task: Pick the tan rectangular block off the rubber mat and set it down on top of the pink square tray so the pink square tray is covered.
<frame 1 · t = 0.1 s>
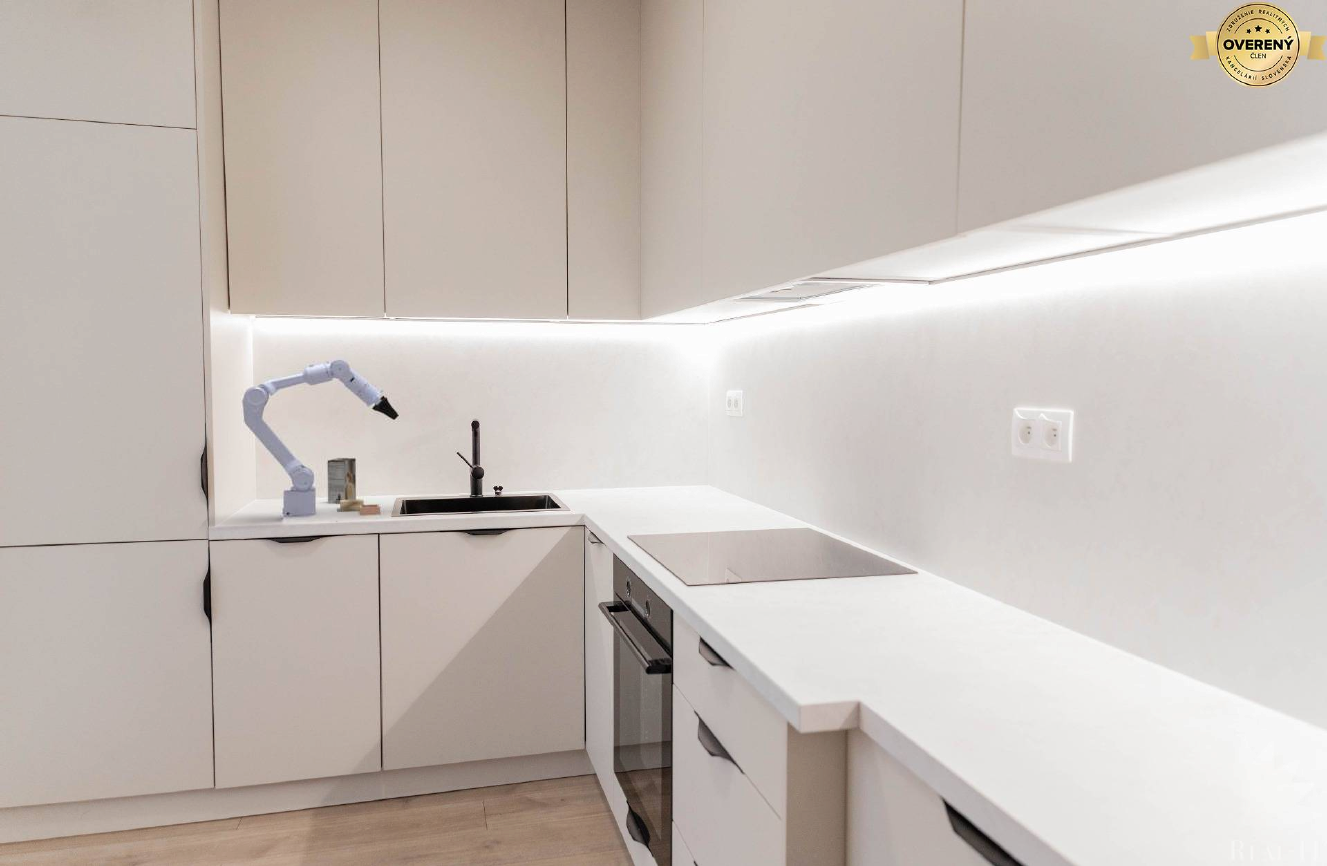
hand: (395, 417, 266), 32 cm above the countertop, tool tilted 50°, fingers open, 7 cm apart
mat: (351, 513, 267), on the countertop
pink square tray: (369, 516, 261), on the countertop
tan rectangular block: (351, 509, 267), point 1 cm above the countertop, touching mat
coffee box: (341, 505, 284), on the countertop
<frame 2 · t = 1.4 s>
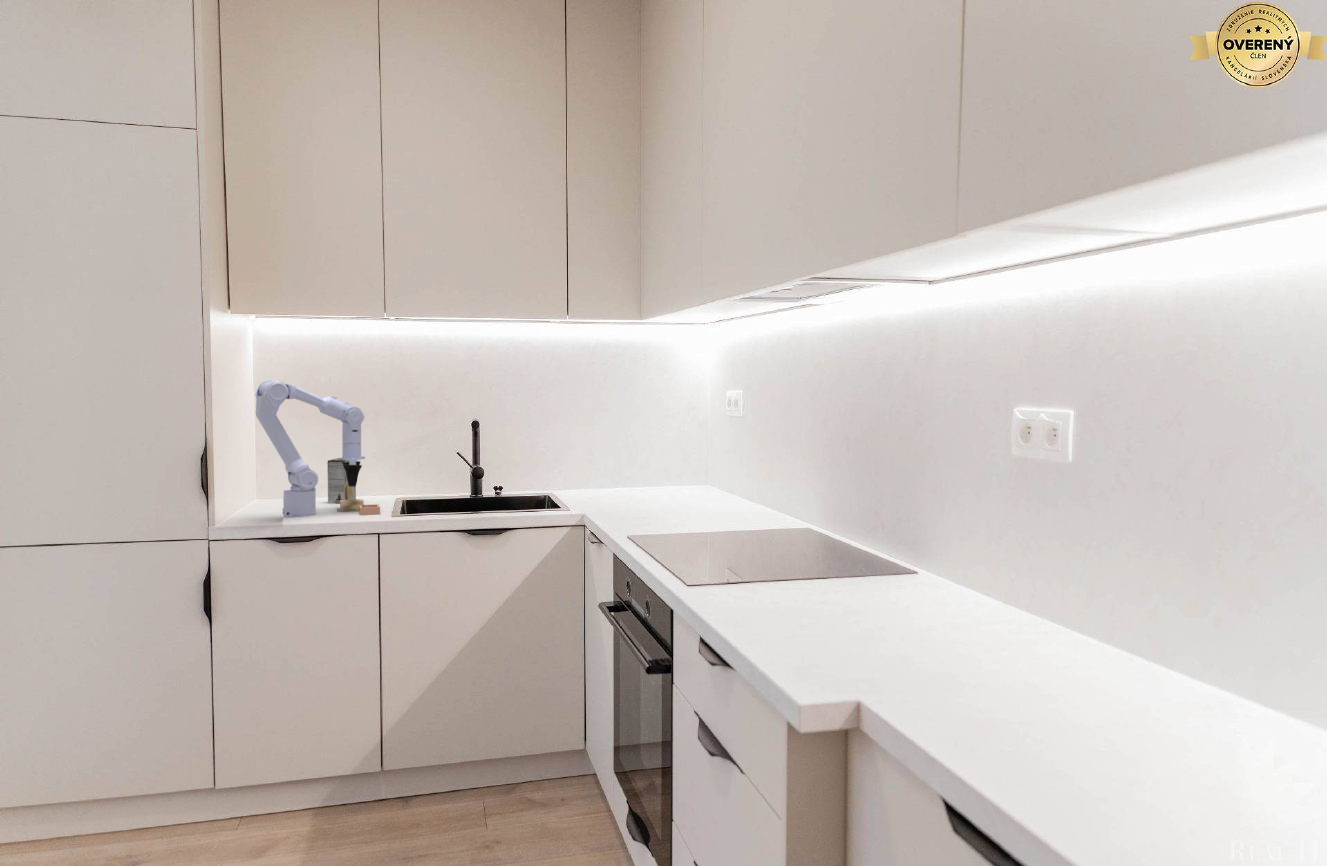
hand: (351, 484, 267), 9 cm above the countertop, tool pointing down, fingers open, 7 cm apart
nothing on the countertop moved.
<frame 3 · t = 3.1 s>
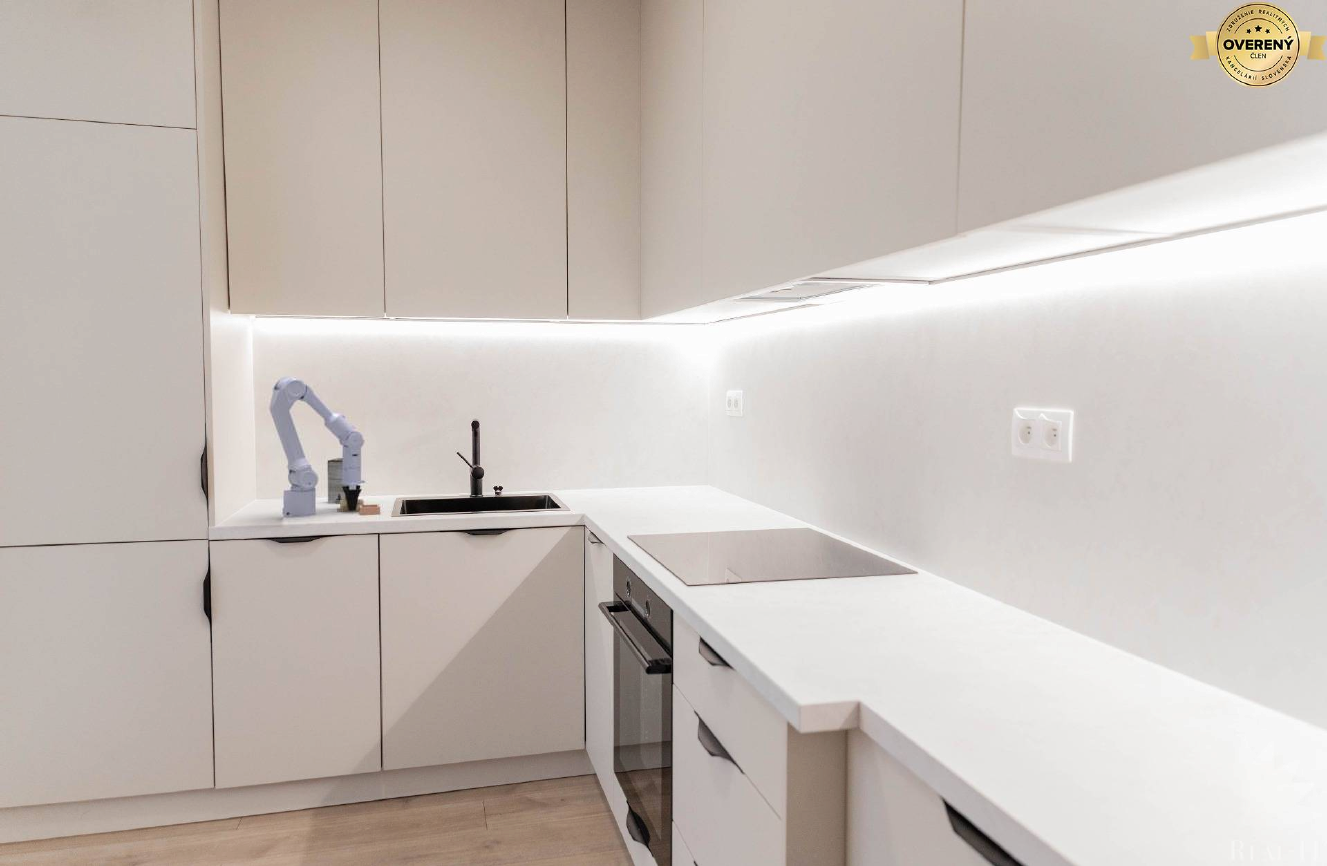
hand: (351, 508, 267), 2 cm above the countertop, tool pointing down, fingers closed on tan rectangular block, 5 cm apart
tan rectangular block: (351, 509, 267), point 1 cm above the countertop, touching gripper, mat
everything else where it was.
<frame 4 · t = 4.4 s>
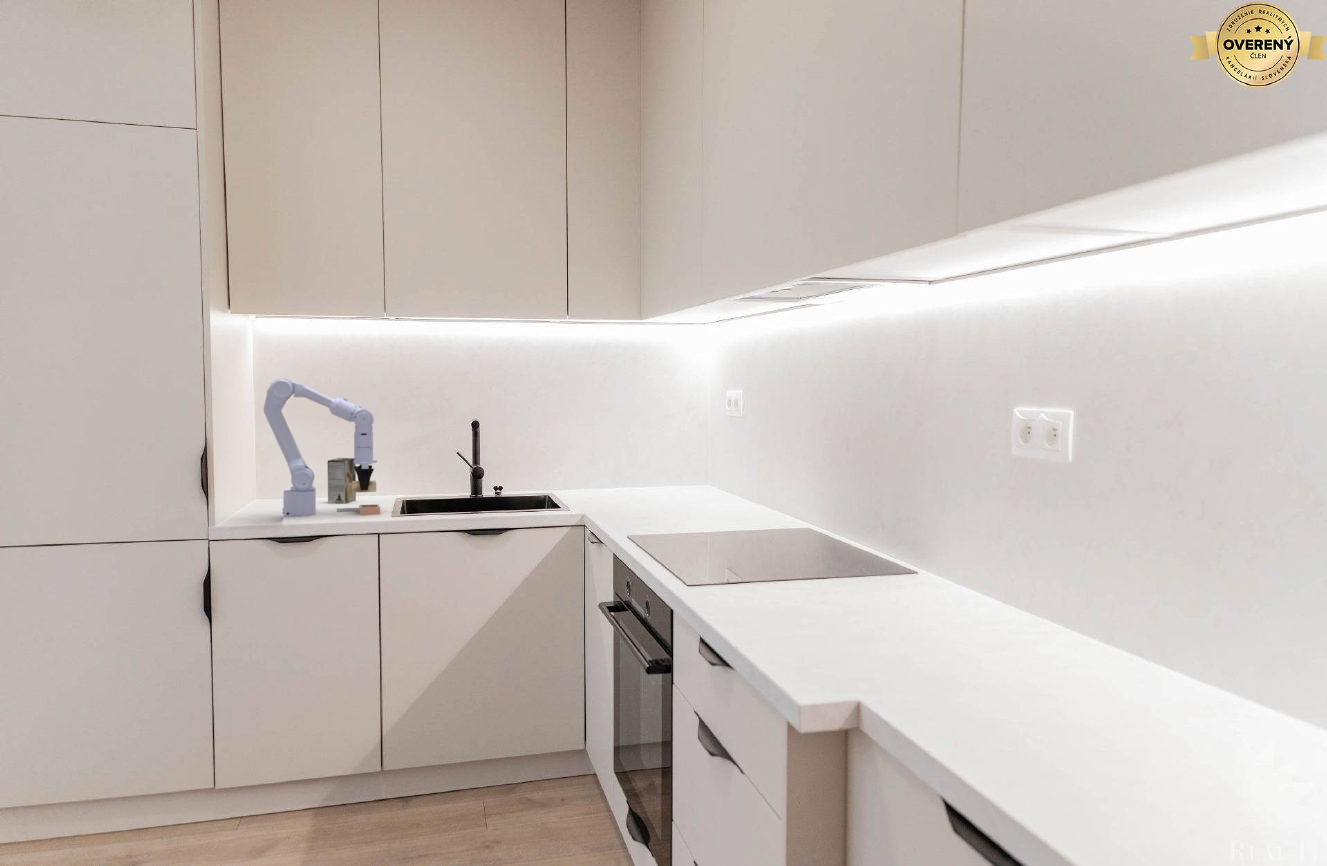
hand: (363, 488, 263), 9 cm above the countertop, tool pointing down, fingers closed on tan rectangular block, 5 cm apart
tan rectangular block: (364, 491, 263), point 8 cm above the countertop, touching gripper
everything else where it was.
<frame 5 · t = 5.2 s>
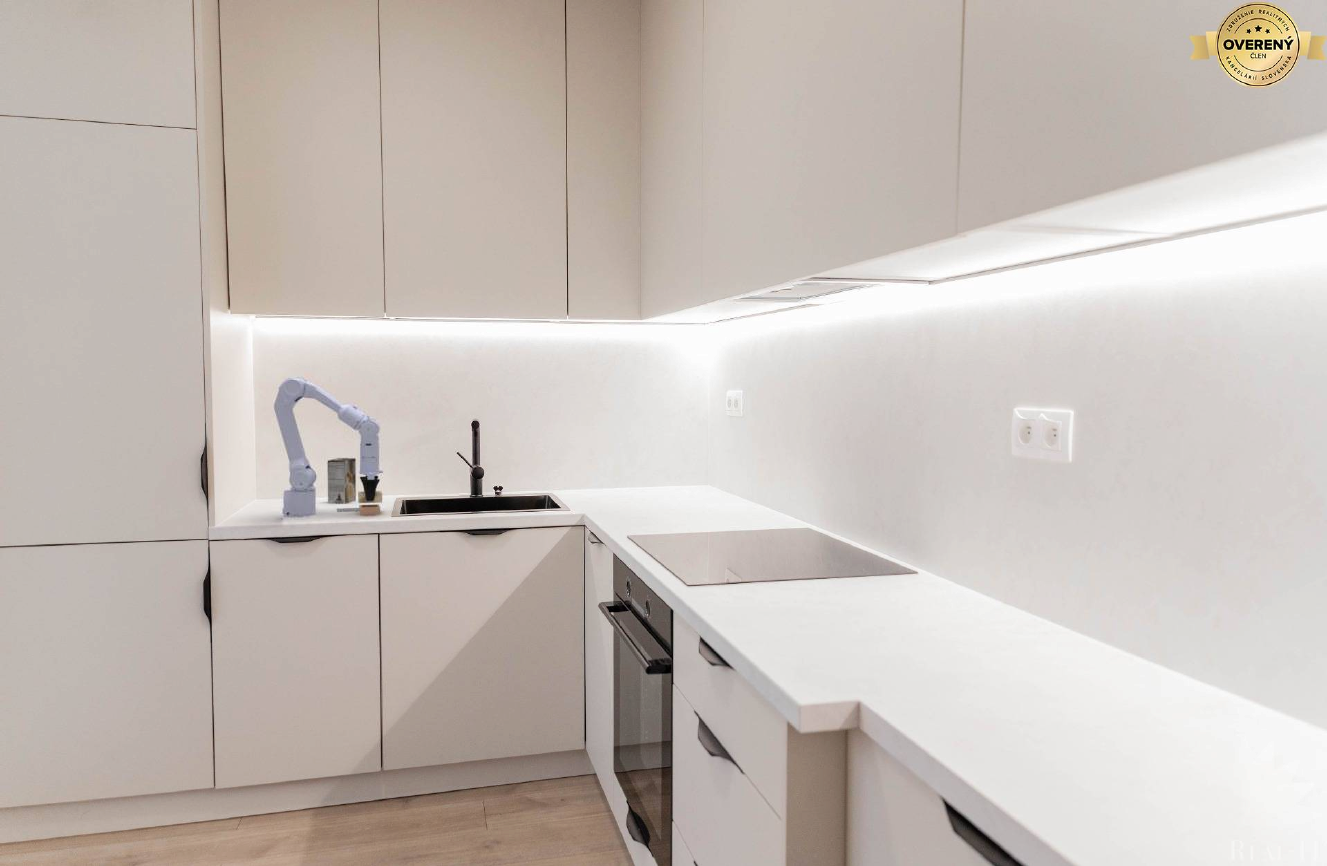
hand: (369, 499, 261), 6 cm above the countertop, tool pointing down, fingers closed on tan rectangular block, 5 cm apart
tan rectangular block: (370, 501, 261), point 5 cm above the countertop, touching gripper
everything else where it was.
when the fingers open (5 cm above the countertop, at t = 5.8 s): tan rectangular block stays where it is, resting on pink square tray.
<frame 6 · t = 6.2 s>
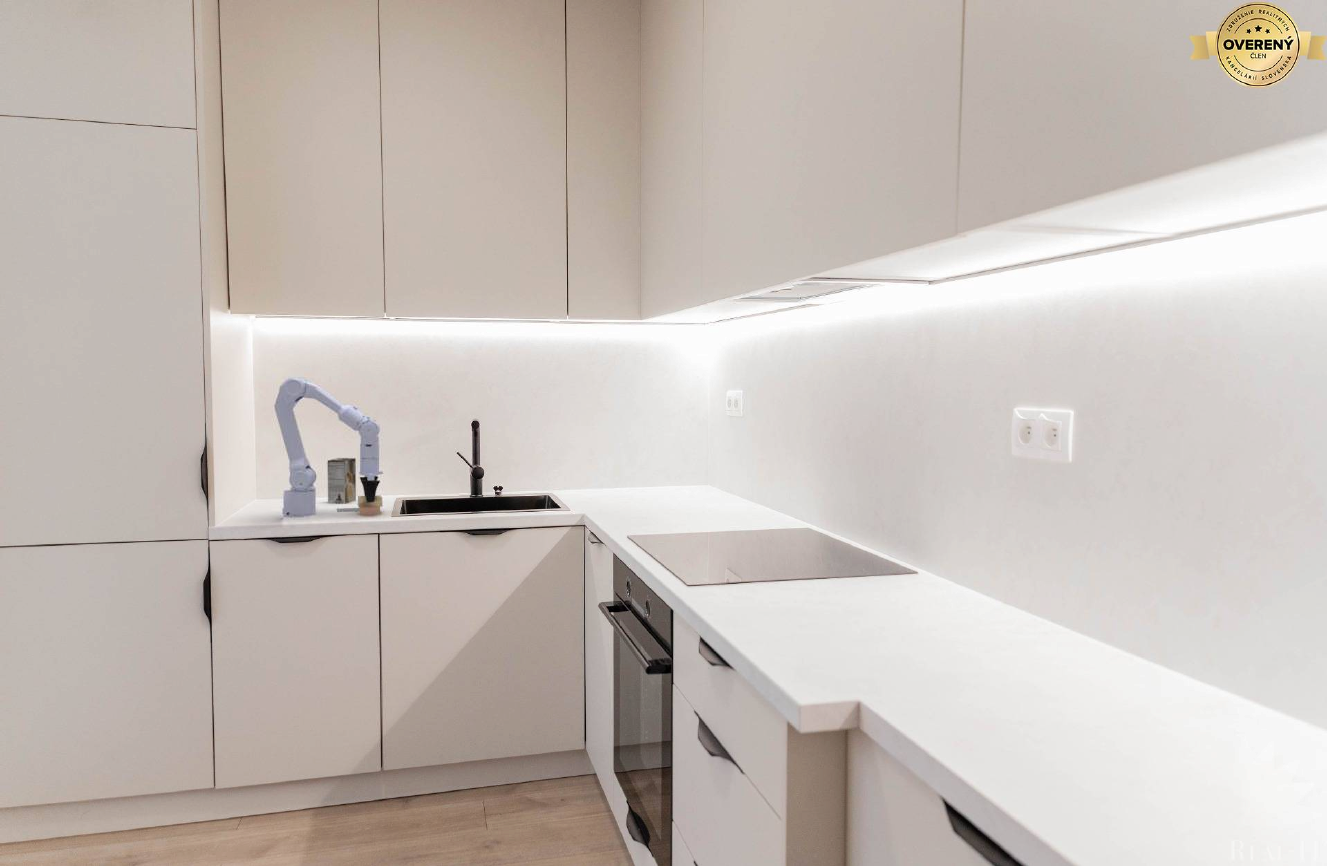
hand: (369, 500, 261), 5 cm above the countertop, tool pointing down, fingers open, 7 cm apart
tan rectangular block: (370, 506, 261), point 3 cm above the countertop, touching pink square tray
everything else where it was.
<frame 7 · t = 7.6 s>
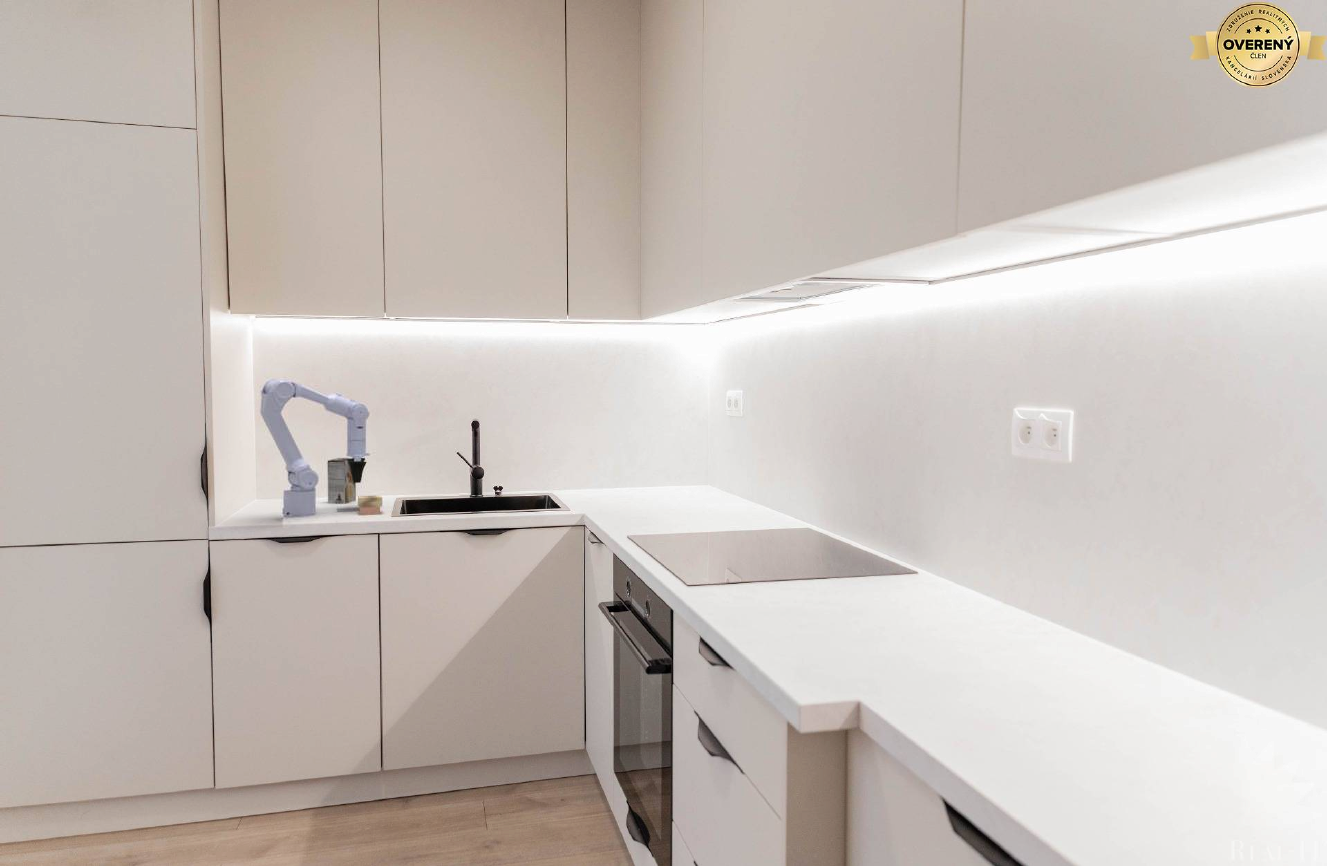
hand: (356, 481, 268), 10 cm above the countertop, tool pointing down, fingers open, 7 cm apart
nothing on the countertop moved.
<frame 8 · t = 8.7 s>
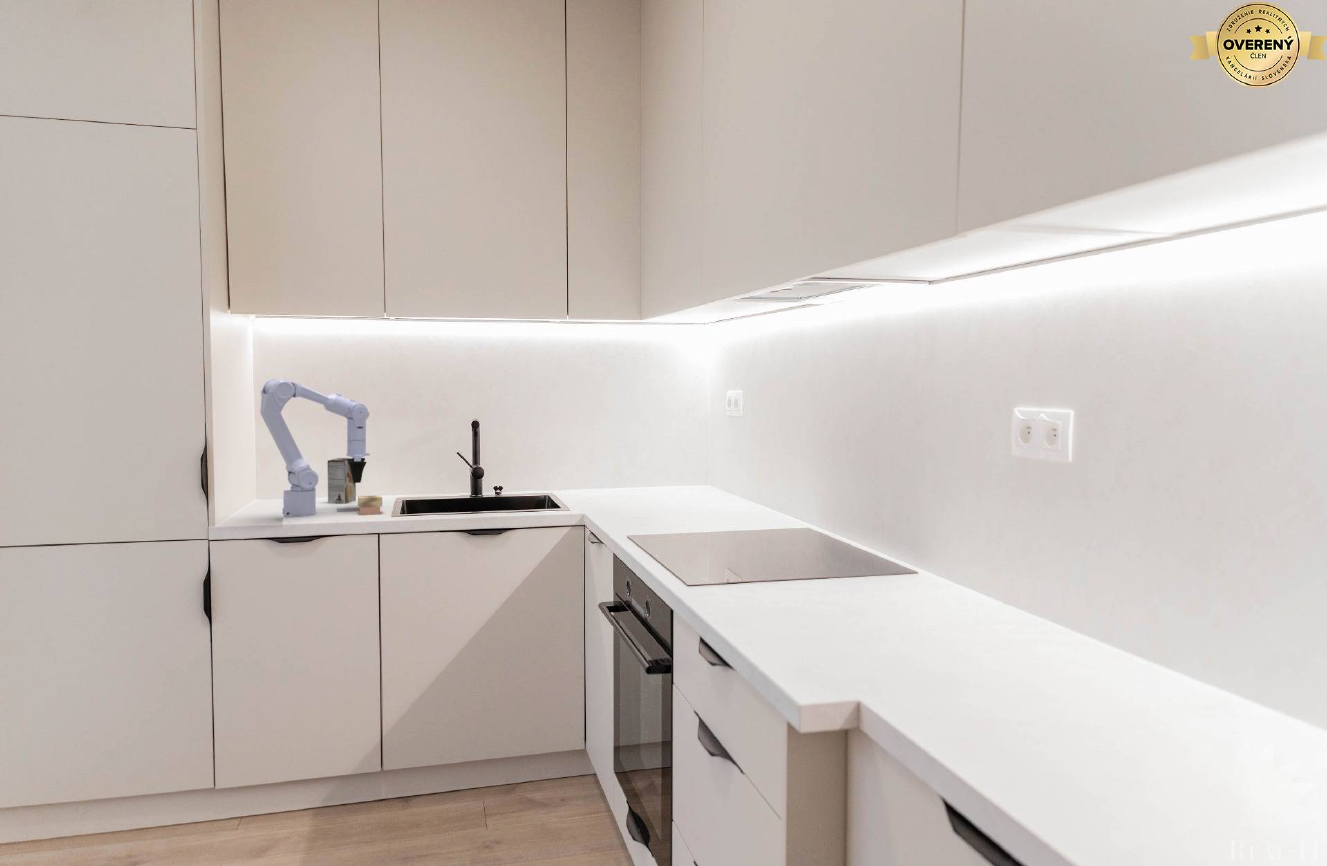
hand: (356, 481, 268), 10 cm above the countertop, tool pointing down, fingers open, 7 cm apart
nothing on the countertop moved.
at the end: tan rectangular block 0.1 cm off-centre on the pink square tray, point 3.5 cm above the pink square tray's base; tan rectangular block tilted 0°; the gripper is holding nothing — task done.
